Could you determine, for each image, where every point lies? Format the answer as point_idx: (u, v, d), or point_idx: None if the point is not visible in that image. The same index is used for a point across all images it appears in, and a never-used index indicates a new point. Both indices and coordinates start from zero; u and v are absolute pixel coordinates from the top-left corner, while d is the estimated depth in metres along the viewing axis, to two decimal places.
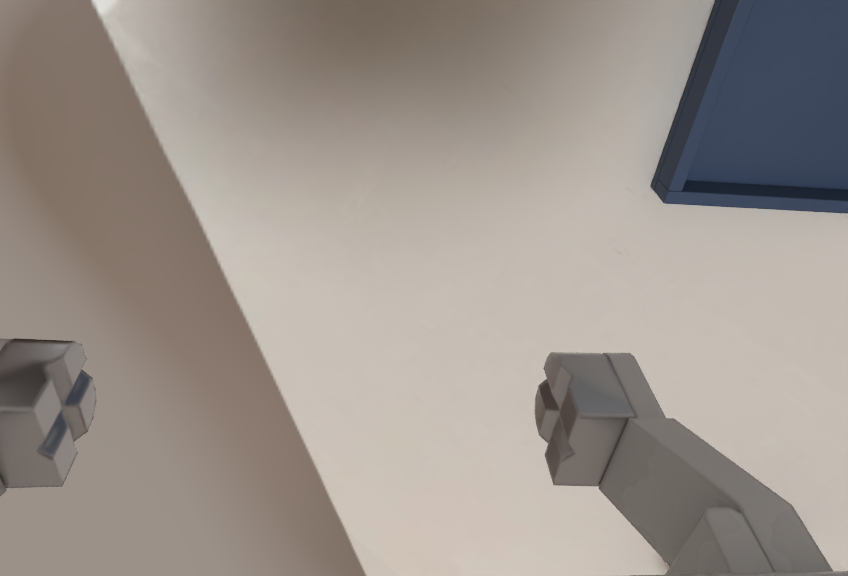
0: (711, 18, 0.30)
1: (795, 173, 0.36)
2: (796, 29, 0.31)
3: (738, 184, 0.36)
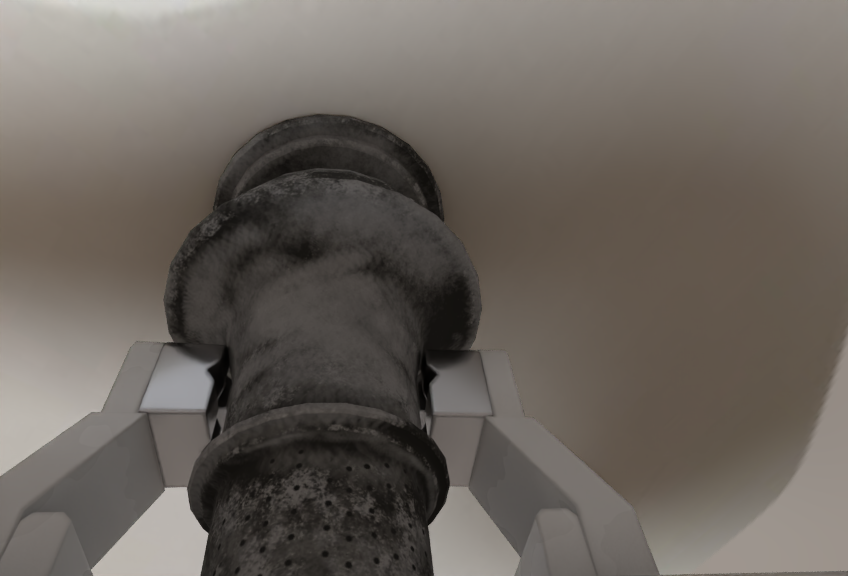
0: None
1: None
2: None
3: None
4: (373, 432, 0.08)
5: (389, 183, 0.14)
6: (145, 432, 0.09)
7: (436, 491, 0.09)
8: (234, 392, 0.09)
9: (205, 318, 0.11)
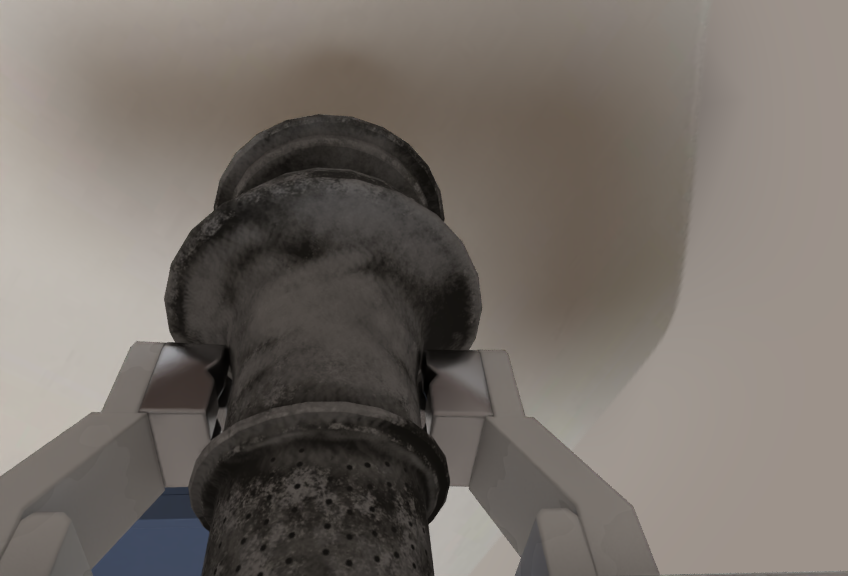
0: None
1: None
2: (199, 540, 0.36)
3: None
4: (373, 431, 0.08)
5: (389, 183, 0.14)
6: (145, 432, 0.09)
7: (436, 490, 0.09)
8: (235, 391, 0.09)
9: (206, 317, 0.11)
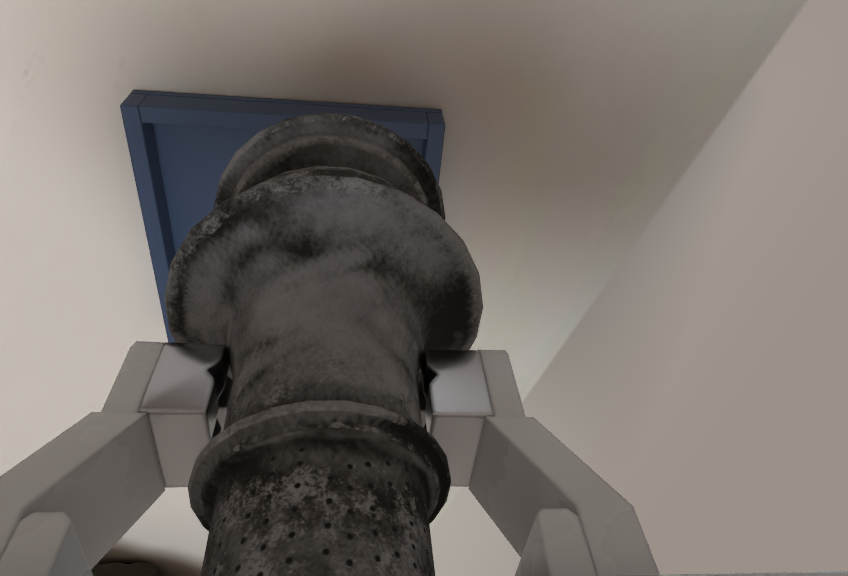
0: (332, 103, 0.30)
1: None
2: None
3: (162, 188, 0.32)
4: (374, 430, 0.08)
5: (390, 181, 0.14)
6: (145, 432, 0.09)
7: (437, 489, 0.09)
8: (235, 390, 0.09)
9: (206, 316, 0.11)
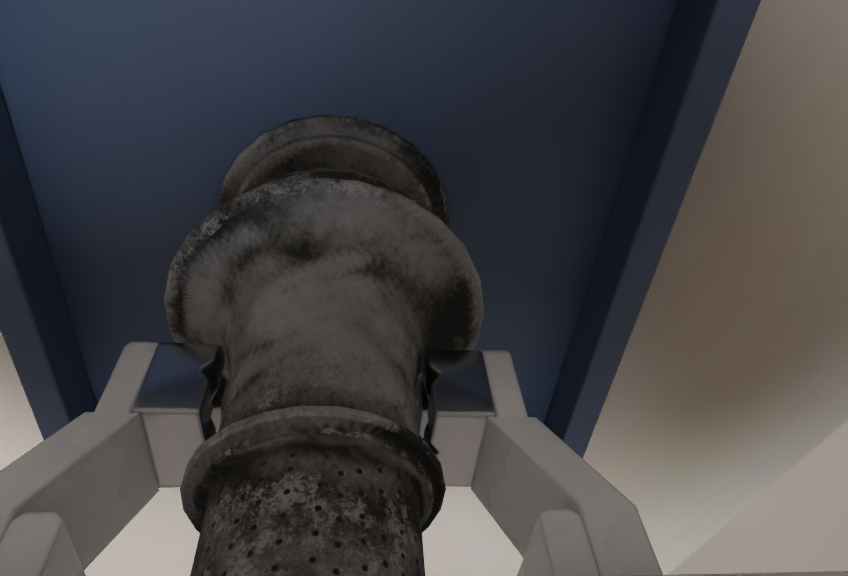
0: None
1: (89, 255, 0.15)
2: (425, 128, 0.13)
3: (7, 122, 0.12)
4: (367, 436, 0.08)
5: (394, 184, 0.14)
6: (138, 432, 0.09)
7: (431, 497, 0.09)
8: (230, 393, 0.09)
9: (205, 317, 0.11)
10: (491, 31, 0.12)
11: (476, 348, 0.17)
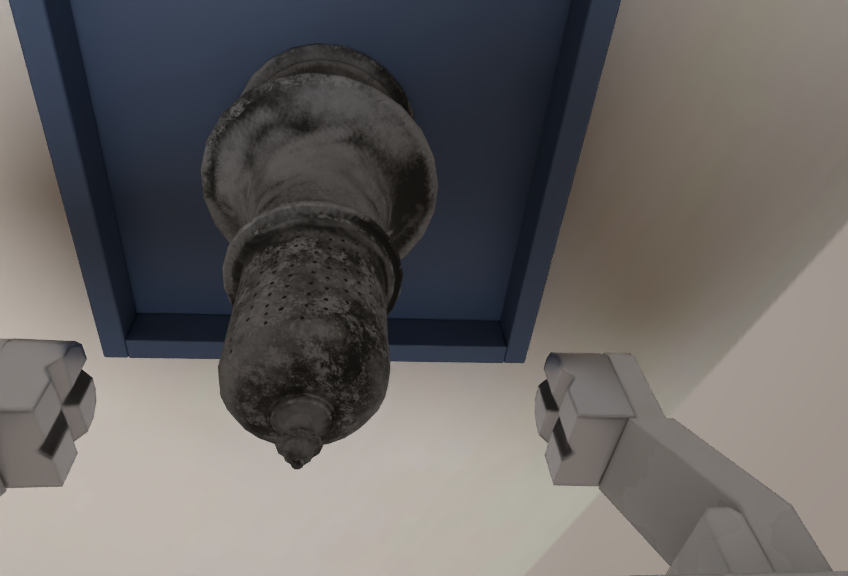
0: None
1: (133, 160, 0.19)
2: (396, 55, 0.17)
3: (77, 47, 0.16)
4: (348, 222, 0.12)
5: None
6: None
7: (392, 278, 0.13)
8: (254, 216, 0.13)
9: (231, 182, 0.15)
10: None
11: (442, 247, 0.21)
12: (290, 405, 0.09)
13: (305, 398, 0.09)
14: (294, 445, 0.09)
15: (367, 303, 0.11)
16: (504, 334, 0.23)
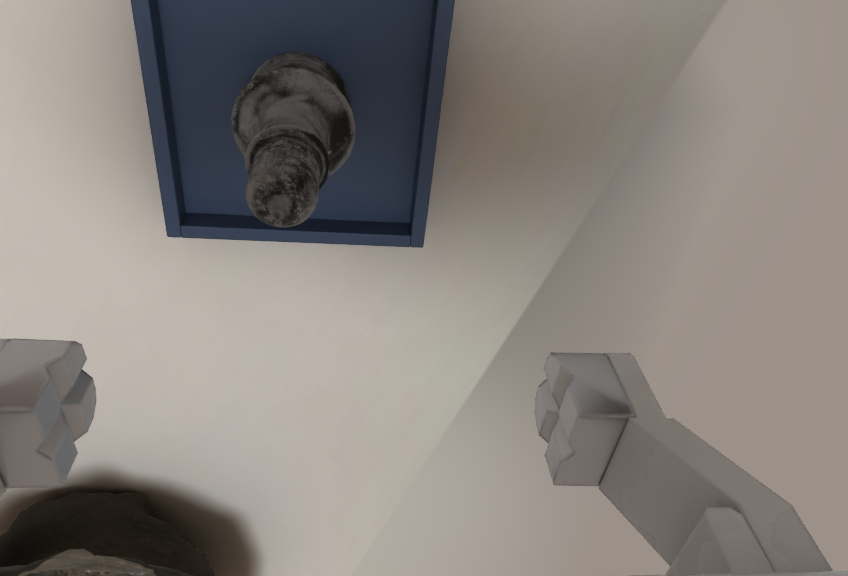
0: None
1: (189, 117, 0.33)
2: (336, 58, 0.32)
3: (163, 53, 0.31)
4: (302, 134, 0.26)
5: None
6: None
7: (324, 163, 0.27)
8: None
9: (247, 123, 0.29)
10: (359, 17, 0.31)
11: (369, 172, 0.36)
12: (275, 198, 0.24)
13: (281, 195, 0.24)
14: (276, 210, 0.23)
15: (308, 165, 0.25)
16: (410, 229, 0.37)
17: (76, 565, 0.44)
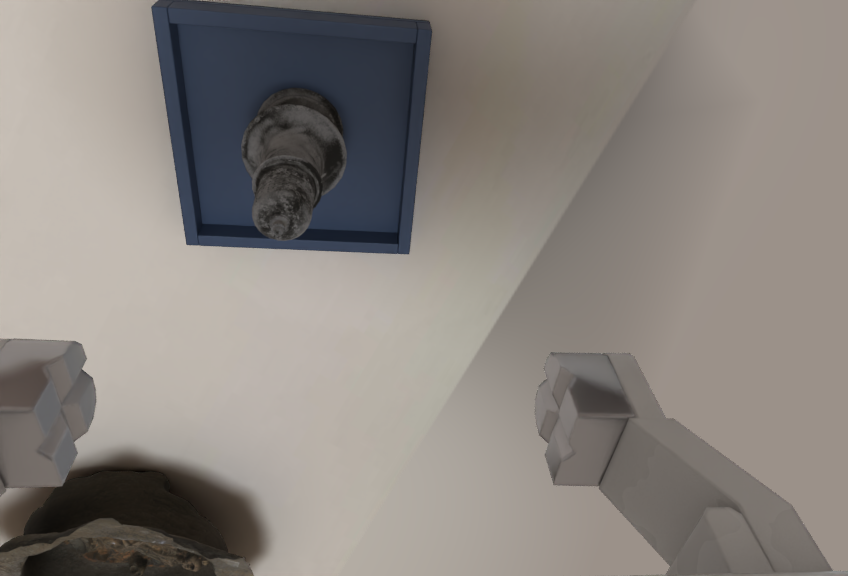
0: (334, 13, 0.35)
1: (205, 142, 0.38)
2: (331, 93, 0.37)
3: (184, 90, 0.36)
4: (299, 162, 0.31)
5: (320, 113, 0.37)
6: None
7: (318, 186, 0.32)
8: None
9: (254, 150, 0.35)
10: (350, 58, 0.36)
11: (361, 189, 0.41)
12: (275, 217, 0.29)
13: (280, 215, 0.29)
14: (276, 228, 0.29)
15: (303, 189, 0.30)
16: (398, 238, 0.42)
17: (105, 533, 0.50)
